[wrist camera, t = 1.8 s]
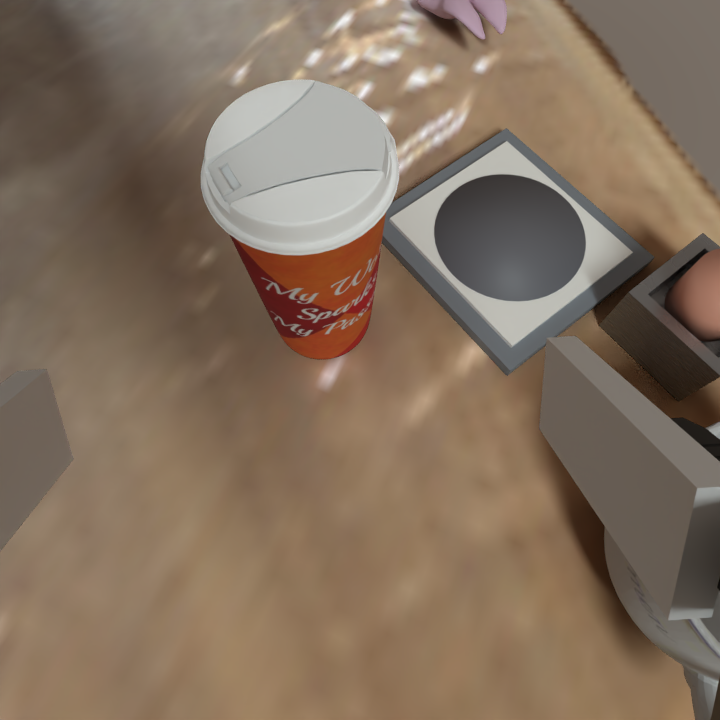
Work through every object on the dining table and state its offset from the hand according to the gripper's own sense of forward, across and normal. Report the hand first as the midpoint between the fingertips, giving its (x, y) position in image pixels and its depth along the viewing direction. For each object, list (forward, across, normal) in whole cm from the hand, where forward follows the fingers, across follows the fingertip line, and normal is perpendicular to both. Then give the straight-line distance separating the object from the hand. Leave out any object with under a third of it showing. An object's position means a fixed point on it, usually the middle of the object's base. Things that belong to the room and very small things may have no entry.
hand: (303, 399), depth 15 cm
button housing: (+17, +20, -6) cm, 27 cm away
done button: (+15, +20, -3) cm, 25 cm away
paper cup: (+19, 0, -4) cm, 19 cm away
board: (+21, +12, -1) cm, 24 cm away
